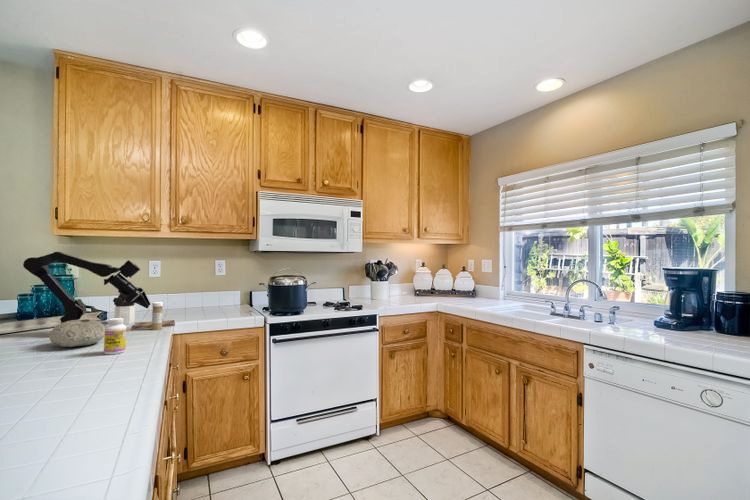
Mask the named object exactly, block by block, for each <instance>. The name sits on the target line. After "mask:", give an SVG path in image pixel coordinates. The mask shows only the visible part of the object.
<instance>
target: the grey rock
mask: <svg viewBox="0 0 750 500" xmlns="http://www.w3.org/2000/svg"><path fill="white" fill-rule="evenodd" d="M105 328H106V325H104V324H103V323H102V322H100V321H98V320H95V319H94V318H93V319H91V318H84V319H83V318H82V319H79V320H71V321H67V322H63V323H61V322H60V323H59V324H57V325H56V326H54V327H53V328H52V330H51V331H50V332H49V333H48V338H49V341H50V342H51V343H52V344H55V345H58V346H60V347H63V348H66V347H67V348H68V347H69V348H71V347H72V348H73V347H84V346H90V345H94V344H95V343H97V342H100V341H101V340H102V339H103V338H104V335H105Z"/></svg>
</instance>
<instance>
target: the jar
mask: <svg viewBox="0 0 750 500" xmlns="http://www.w3.org/2000/svg"><path fill="white" fill-rule="evenodd" d="M131 302H132V301H131ZM131 302H129V303H128V302H126V301H124V304H123V306H121V307H120V306H116V305H115V306H114V318H123V325H130V324H135V323H136V305H135V303H131ZM130 303H131V304H130Z"/></svg>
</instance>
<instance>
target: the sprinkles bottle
mask: <svg viewBox="0 0 750 500" xmlns="http://www.w3.org/2000/svg"><path fill="white" fill-rule="evenodd" d="M151 306H152V311H151V312H152V314H151V315H152V316H151V317H152V318H151V322H152V328H151V330H153V331H157V330H158V331H159V330H162V329H163V327H162V321H163V307H164V302H162V301H156V302H155V301H154V302H152V305H151Z"/></svg>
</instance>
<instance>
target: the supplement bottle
mask: <svg viewBox="0 0 750 500" xmlns="http://www.w3.org/2000/svg"><path fill="white" fill-rule="evenodd" d="M107 322H108V325H107V326H105V335H104V337H103V338H104V339H103V340H104V342H103V354H105V355H108V356H109V355H118V354H119V353H120V354H122V353H125V352H126V345H127V344H126V342H127V341H126V340H127V339H126V338H127V331H126V328H127V325H126V324H123V318H109V319H108V321H107Z"/></svg>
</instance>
